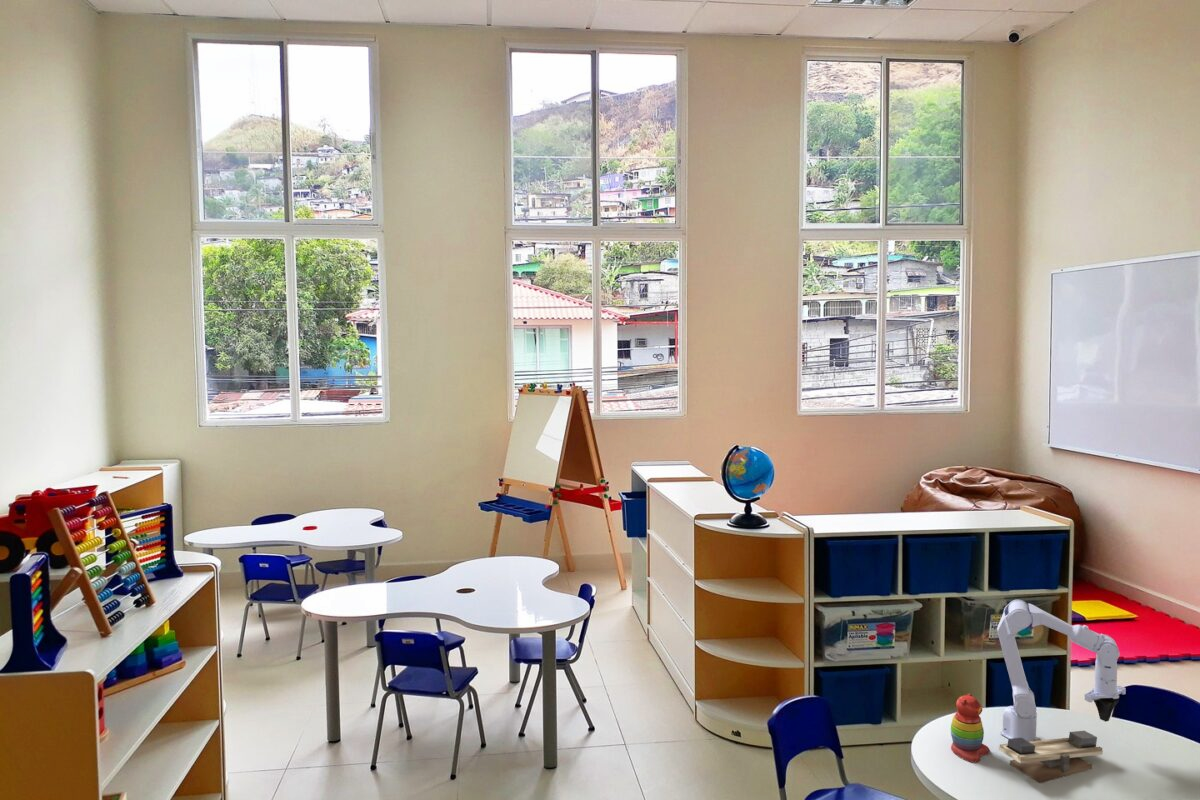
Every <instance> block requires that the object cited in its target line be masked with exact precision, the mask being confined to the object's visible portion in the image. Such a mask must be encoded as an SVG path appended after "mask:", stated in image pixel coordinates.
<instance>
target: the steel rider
mask: <svg viewBox="0 0 1200 800" xmlns="http://www.w3.org/2000/svg"><path fill="white" fill-rule="evenodd" d="M1068 735H1069V736H1068V738H1069V741H1068V743H1069V744H1071V745H1073V746H1074V747H1076V748H1078V749H1082V748H1092V747H1097V741H1098V737H1097V736H1095V735H1094V734H1091V733H1090V732H1088V731H1086V730H1078V731H1077V730H1075V731H1069V734H1068Z"/></svg>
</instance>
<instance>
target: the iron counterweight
mask: <svg viewBox="0 0 1200 800" xmlns="http://www.w3.org/2000/svg"><path fill="white" fill-rule="evenodd" d="M1007 739H1008V738H1007ZM1007 744H1008V746H1007V747H1008V748H1009V749H1011V750H1013V751H1014V752H1016V753H1018V754H1019V755H1025V754H1034V751H1035V745H1033V744H1032V743H1030V742H1028V741H1026V740H1025V739H1023V738H1012V739H1008V740H1007Z"/></svg>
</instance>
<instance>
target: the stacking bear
mask: <svg viewBox="0 0 1200 800" xmlns="http://www.w3.org/2000/svg"><path fill="white" fill-rule="evenodd" d="M955 704H956V710H957V712H955V714H954V715H953V716H952V721H951V724H950V737H951V740H952V743H951V745H950V746H951V747H950V749H951V752H952V753H954V755H956V754H957V755H958V757H959V756H960V757H959V758H961V759H962V758H963V760H965V761H967V760H968V762H970V761H971V762H970V763H979V762H980V761H981V757H983V756H986V755H989V754H990V753H991V751H990V750H991V749H990V748H989V746H988V745H986V744H984V743H983V741H984V735H985V734H984V731H985V730H984V726H983V721H982V717H981V716H980V715H981V714H982V712H983V707H982V705H981V703H980V702H979V701H978V699H976V698H975V697H974V696H972V693H967V694H966V695H965V694H963V695H960V696H959V697H958V698H957V700H956V703H955ZM957 755H956V756H957ZM978 761H979V762H978Z"/></svg>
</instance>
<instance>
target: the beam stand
mask: <svg viewBox="0 0 1200 800" xmlns="http://www.w3.org/2000/svg"><path fill="white" fill-rule="evenodd" d="M1036 738H1037V739H1034V741H1040V740H1042V739H1041V738H1038V737H1036ZM1009 765H1010V766H1011V767H1014V768H1015V769H1017V770H1018V771H1020V772H1021V773H1022V774H1025V775H1026V776H1028V777H1029V778H1031V779H1033V780H1034V781H1035V782H1037V783H1039V784H1042V783H1046V782H1048V781H1049V782H1050V781H1053V780H1057V779H1061V778H1064V777H1066V776H1067V775H1068V776H1070V775H1074V774H1077V773H1078V774H1079V773H1082V772H1085V771H1088V770H1092V769H1093V764H1092V763H1089V762H1088V761H1087V760H1084V759H1083V758H1082V757H1074V758H1070V756H1069V755H1068V754H1063V755H1061V759H1055V760H1046V761H1037V762H1028V763H1019V762H1018V761H1016V760H1014V759H1010V760H1009ZM1063 776H1064V777H1063ZM1060 777H1061V778H1060Z"/></svg>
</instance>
